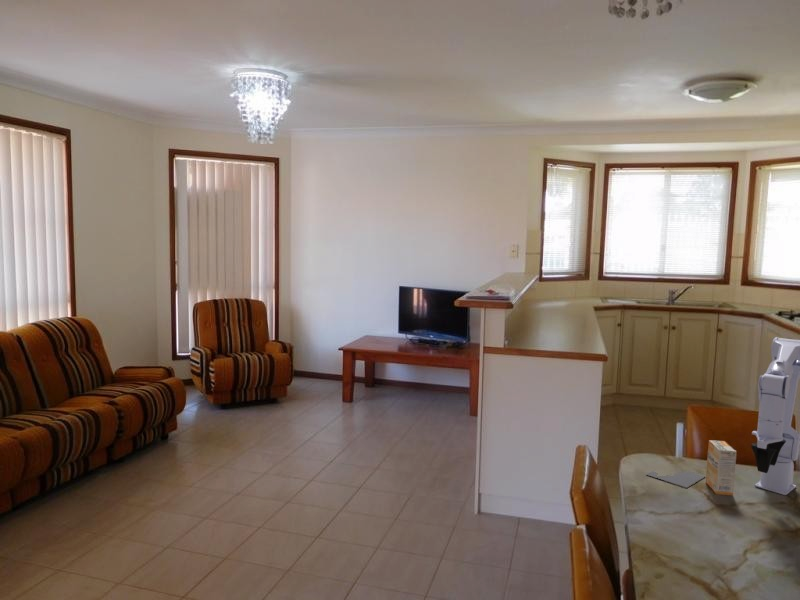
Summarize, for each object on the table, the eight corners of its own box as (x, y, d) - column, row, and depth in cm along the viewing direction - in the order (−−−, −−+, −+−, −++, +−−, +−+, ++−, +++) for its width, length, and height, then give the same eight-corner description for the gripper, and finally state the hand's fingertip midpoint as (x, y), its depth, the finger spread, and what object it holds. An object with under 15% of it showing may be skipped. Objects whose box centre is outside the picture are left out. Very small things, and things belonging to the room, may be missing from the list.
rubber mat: (665, 465, 187) (666, 464, 187) (705, 477, 178) (705, 476, 178) (646, 475, 178) (646, 474, 178) (686, 488, 169) (686, 487, 169)
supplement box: (704, 482, 174) (707, 439, 173) (721, 483, 173) (725, 440, 172) (715, 494, 166) (719, 449, 164) (733, 495, 165) (737, 450, 164)
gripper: (761, 410, 165) (757, 457, 167) (746, 421, 155) (741, 470, 157) (790, 416, 160) (786, 464, 162) (777, 427, 150) (772, 478, 152)
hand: (766, 468), depth 159 cm, fingers open, 7 cm apart
